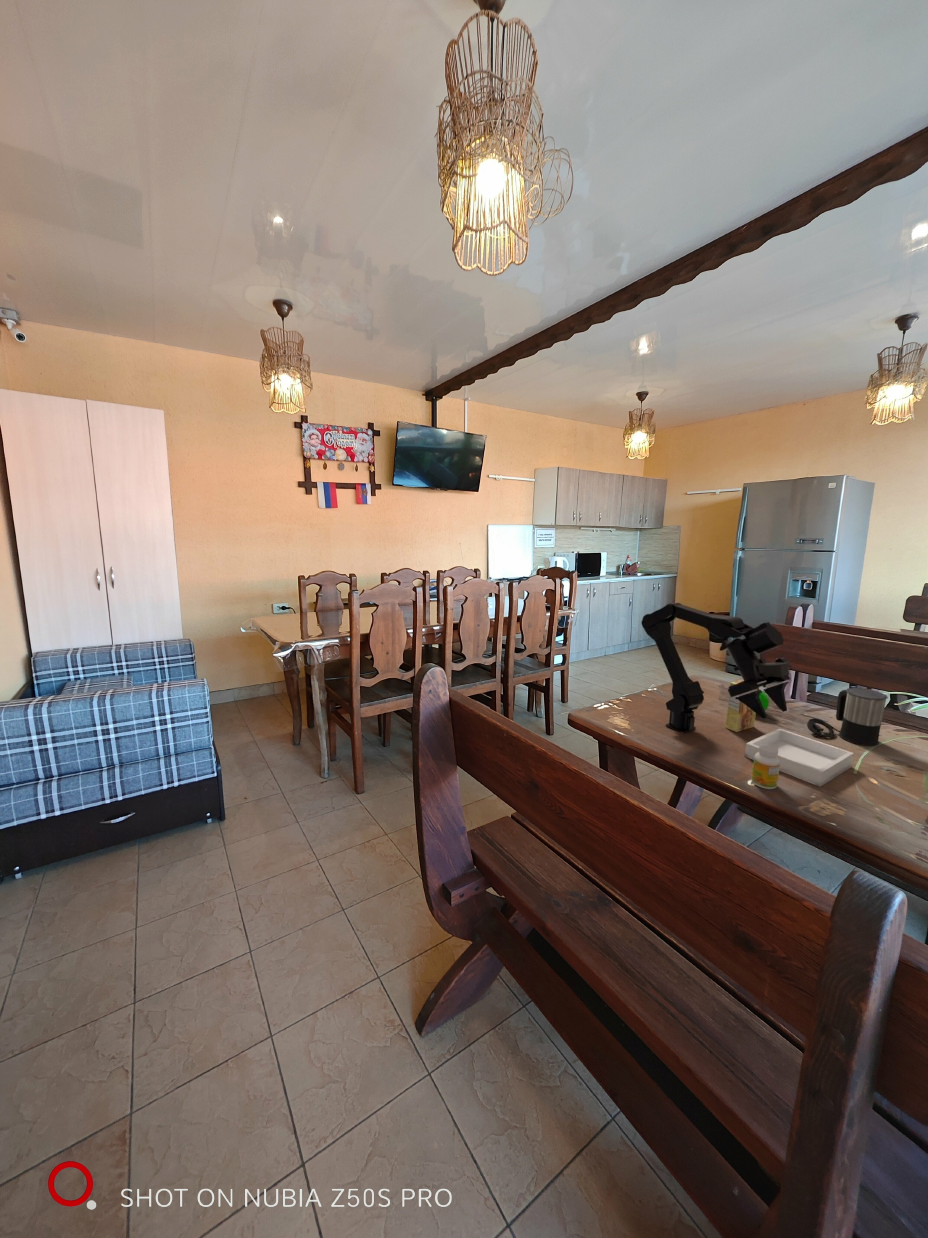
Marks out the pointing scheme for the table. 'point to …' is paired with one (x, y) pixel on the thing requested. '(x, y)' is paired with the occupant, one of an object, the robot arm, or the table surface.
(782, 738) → the box
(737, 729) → the candy box
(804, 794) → the table surface
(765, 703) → the ornament
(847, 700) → the milk frother
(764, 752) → the supplement bottle
